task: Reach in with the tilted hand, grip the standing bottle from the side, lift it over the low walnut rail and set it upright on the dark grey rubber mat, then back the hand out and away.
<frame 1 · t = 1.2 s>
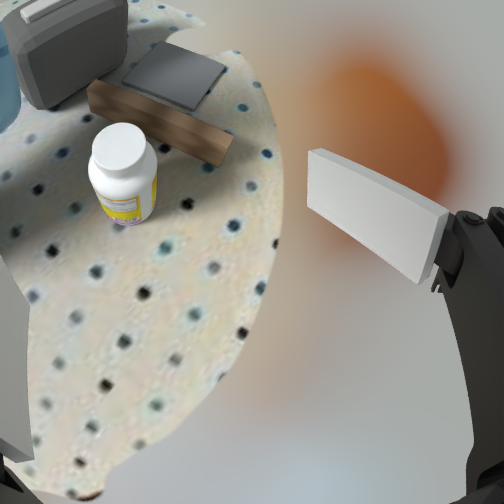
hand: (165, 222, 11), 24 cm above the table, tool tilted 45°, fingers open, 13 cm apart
rubber mat: (175, 73, 40), on the table
alarm clock: (72, 75, 35), on the table
supplement bottle: (129, 201, 34), on the table
walnut rail: (154, 131, 37), on the table
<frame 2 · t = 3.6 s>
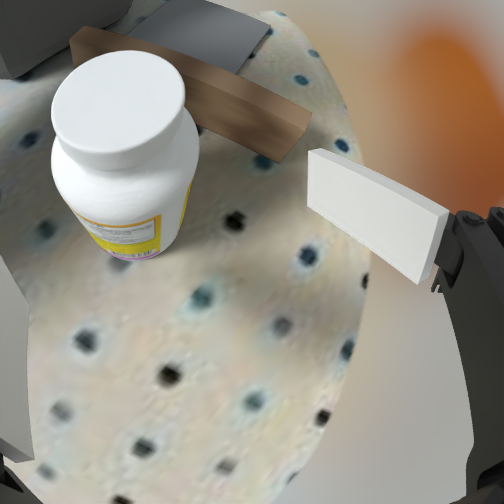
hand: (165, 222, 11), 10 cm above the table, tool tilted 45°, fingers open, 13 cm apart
rubber mat: (201, 30, 26), on the table
alarm clock: (55, 35, 21), on the table
supplement bottle: (135, 216, 21), on the table
walnut rail: (174, 104, 23), on the table
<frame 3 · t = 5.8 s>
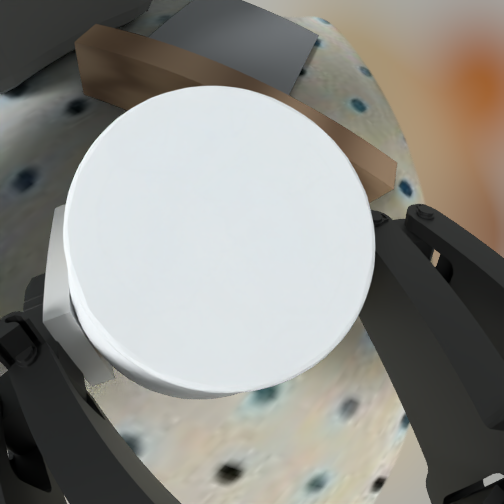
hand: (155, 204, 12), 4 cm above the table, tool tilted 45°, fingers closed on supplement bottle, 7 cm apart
rubber mat: (240, 36, 22), on the table
alarm clock: (55, 36, 17), on the table
supplement bottle: (178, 294, 16), on the table, touching gripper
walnut rail: (217, 135, 19), on the table
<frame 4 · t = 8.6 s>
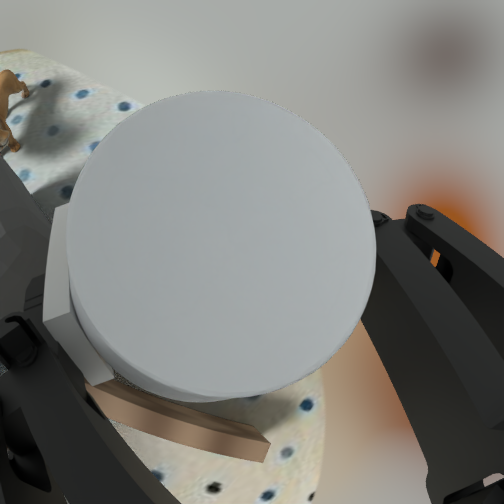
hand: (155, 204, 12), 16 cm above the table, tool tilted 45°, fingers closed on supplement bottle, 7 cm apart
alarm clock: (6, 286, 23), on the table
supplement bottle: (178, 295, 16), point 12 cm above the table, touching gripper
walnut rail: (151, 405, 25), on the table
lion figurine: (13, 132, 25), on the table
when the fingers open (6 cm above the table, at t = 11.5 s): supplement bottle moves 1 cm, resting on rubber mat.
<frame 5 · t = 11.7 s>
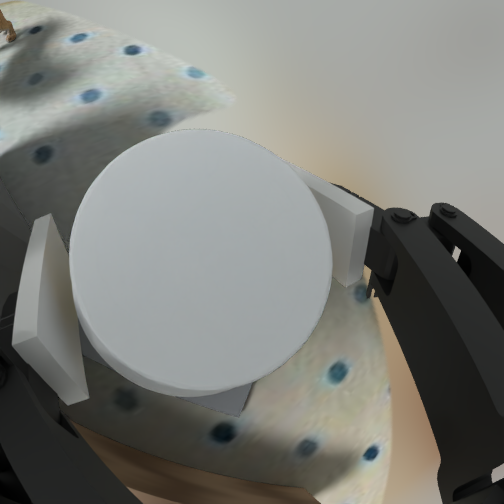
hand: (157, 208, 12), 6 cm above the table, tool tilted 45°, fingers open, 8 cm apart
rubber mat: (176, 295, 18), on the table
supplement bottle: (174, 298, 17), resting on rubber mat
walnut rail: (161, 471, 15), on the table
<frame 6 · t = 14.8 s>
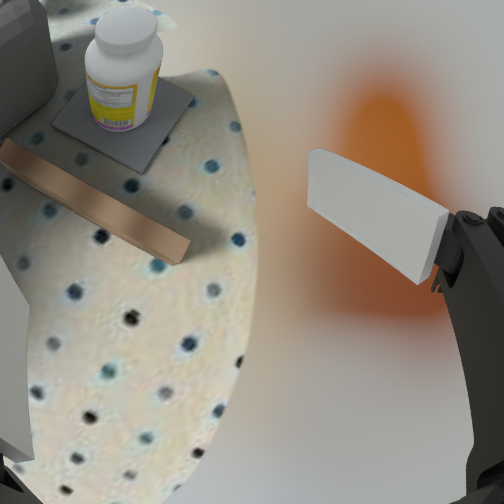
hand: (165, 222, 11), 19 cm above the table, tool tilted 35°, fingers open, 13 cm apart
rubber mat: (122, 109, 28), on the table
supplement bottle: (121, 108, 28), resting on rubber mat
walnut rail: (88, 208, 27), on the table
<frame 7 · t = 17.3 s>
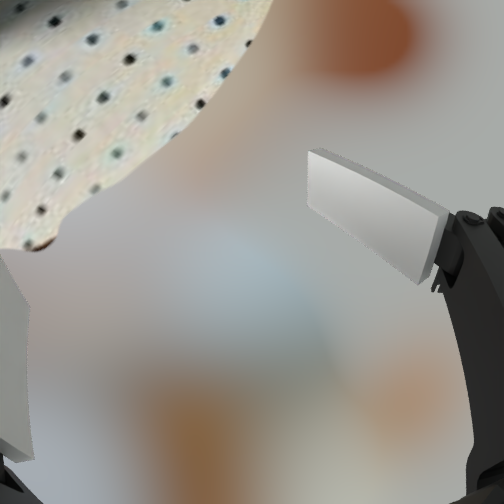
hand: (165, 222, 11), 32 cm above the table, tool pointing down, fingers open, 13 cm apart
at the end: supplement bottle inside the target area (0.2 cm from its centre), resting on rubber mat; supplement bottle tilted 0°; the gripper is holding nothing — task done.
